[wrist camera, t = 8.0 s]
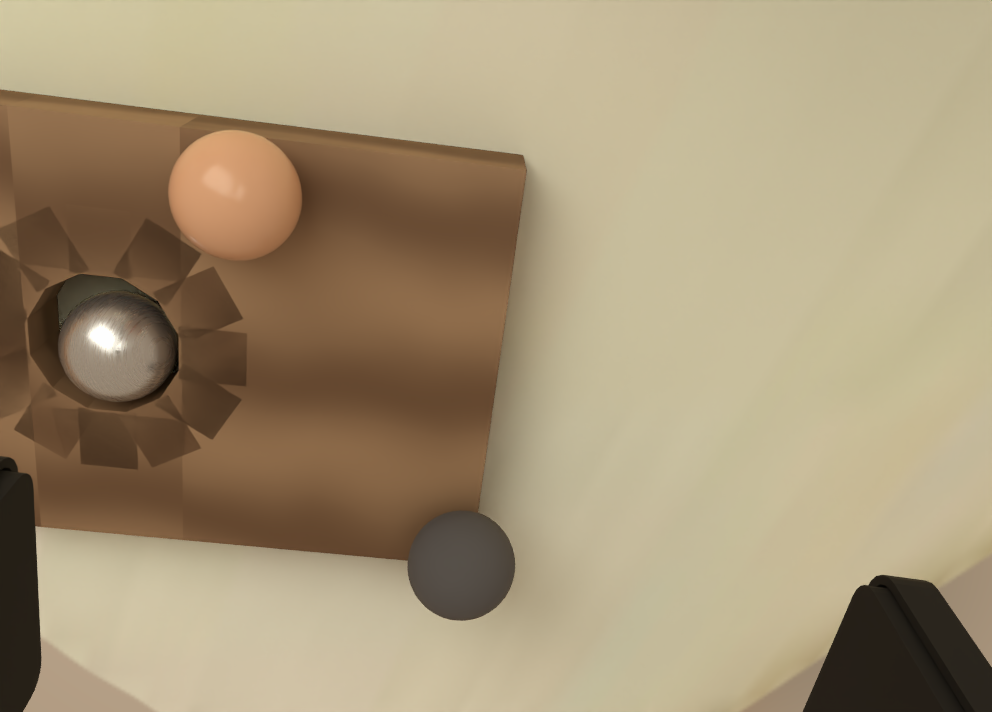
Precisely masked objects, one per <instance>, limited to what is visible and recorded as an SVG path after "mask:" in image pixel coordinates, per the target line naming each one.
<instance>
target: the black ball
mask: <svg viewBox="0 0 992 712" xmlns="http://www.w3.org/2000/svg"><path fill="white" fill-rule="evenodd" d="M514 572H515V558H514V553H513V548H512V546H511V543H510V541H509V539H508V537H507V536H506V534H505V533H504V531H503V530H502V529H501V528H500V527H499V526H498V525H497V524H496V523H495V522H494V521H492V520H491V519H490V518H488V517H486V516H484V515H482V514H479V513H476V512H472V511H452V512H447V513H444V514H442V515H439V516H437V517H436V518H434V519H432V520H431V521H430V522H428V523H427V524H426V525H425V526H424V527H423V528H422V529H421V530H420V531H419V533H418V534H417V535H416V537H415V539H414V541H413V543H412V545H411V548H410V552H409V557H408V576H409V580H410V584H411V586H412V589H413V591H414V593H415V595H416V596H417V598H418V599H419V600H420V601H421V603H422V604H423V605H424V606H425V607H426V608H427V609H429V610H430V611H432V612H433V613H435V614H437V615H439V616H441V617H443V618H446V619H450V620H461V621H462V620H471V619H475V618H479V617H481V616H483V615H485V614H487V613H489V612H490V611H492V610H493V609H494V608H496V607H497V606H498V605H499V604H500V603H501V601H502V600H503V599H504V598H505V596H506V595H507V593H508V591H509V589H510V587H511V584H512V581H513V577H514Z"/></svg>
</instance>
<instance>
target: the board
mask: <svg viewBox="0 0 992 712" xmlns="http://www.w3.org/2000/svg"><path fill="white" fill-rule="evenodd" d="M222 130H241V131H246V132H251V133H254V134H257V135H259V136H262V137H264V138H266V139H267V140H269V141H271V142H272V143H274V144H275V145H276V146H277V147H279V148H280V149H281V150H282V151H283V152H284V153H285V154H286V156H287V157H288V158H289V159H290V161H291V162H292V164H293V166H294V167H295V169H296V172H297V174H298V176H299V180H300V183H301V189H302V209H301V213H300V217H299V220H298V222H297V225H296V227H295V229H294V230H293V232H292V234H291V235H290V236H289V237H288V239H287V240H286V241H285V242H284V243H283V244H282V245H281V246H280V247H278V248H277V249H275V250H274V251H273V252H271V253H269V254H267V255H265V256H262V257H259V258H256V259H252V260H245V261H232V260H225V259H220V258H217V257H214V256H212V255H209V254H207V253H205V252H203V251H202V250H200V249H199V248H197V247H196V246H195V245H193V244H192V243H191V242H190V241H189V240H188V239H187V238H186V237H185V236H184V235H183V233H182V232H181V231H180V229H179V228H178V226H177V224H176V222H175V220H174V218H173V216H172V213H171V209H170V205H169V198H168V185H169V180H170V175H171V173H172V170H173V167H174V165H175V163H176V161H177V159H178V158H179V156H180V155H181V154H182V152H183V151H184V150H185V149H186V148H187V147H188V146H189V145H191V144H192V143H193V142H195V141H196V140H198V139H199V138H201V137H203V136H205V135H208V134H211V133H213V132H218V131H222ZM526 171H527V170H526V166H525V162H524V158H523V155H518V154H510V153H502V152H494V151H486V150H478V149H470V148H462V147H454V146H446V145H438V144H430V143H422V142H414V141H406V140H398V139H390V138H382V137H374V136H366V135H358V134H350V133H342V132H334V131H326V130H318V129H310V128H302V127H294V126H286V125H278V124H270V123H262V122H254V121H246V120H238V119H230V118H222V117H214V116H206V115H199V114H191V113H183V112H175V111H167V110H159V109H151V108H143V107H135V106H127V105H119V104H111V103H103V102H95V101H87V100H79V99H71V98H63V97H55V96H47V95H39V94H31V93H23V92H15V91H7V90H0V456H4V457H10V458H12V459H14V460H15V462H16V464H17V467H18V472H21V473H27V474H29V475H30V476H31V478H32V480H33V488H34V510H35V526H38V527H49V528H60V529H71V530H82V531H92V532H103V533H114V534H125V535H136V536H147V537H158V538H169V539H179V540H190V541H201V542H212V543H223V544H234V545H245V546H256V547H266V548H277V549H288V550H299V551H310V552H321V553H332V554H343V555H353V556H364V557H375V558H386V559H397V560H408V557H409V552H410V548H411V545H412V543H413V541H414V539H415V537H416V535H417V534H418V533H419V531H420V530H421V529H422V528H423V527H424V526H425V525H426V524H427V523H428V522H430V521H431V520H432V519H434V518H436V517H437V516H439V515H442V514H444V513H447V512H452V511H472V512H476V513H478V508H479V501H480V494H481V487H482V480H483V473H484V466H485V459H486V452H487V445H488V438H489V431H490V424H491V417H492V410H493V403H494V396H495V389H496V381H497V374H498V367H499V360H500V353H501V346H502V339H503V332H504V325H505V318H506V311H507V304H508V297H509V290H510V283H511V276H512V269H513V262H514V255H515V248H516V241H517V234H518V227H519V220H520V213H521V206H522V199H523V192H524V185H525V178H526ZM78 274H89V275H98V276H107V277H116V278H122V279H124V280H125V281H127V282H129V283H130V284H132V285H133V286H135V287H136V288H138V289H140V290H141V291H143V292H144V293H146V294H148V295H149V296H151V297H152V298H154V299H155V300H157V301H158V302H159V304H160V305H161V307H162V309H163V310H164V312H165V314H166V315H167V317H168V319H169V320H170V322H171V324H172V325H173V327H174V329H175V330H176V332H177V333H178V335H179V371H177V372H174V373H172V374H170V375H169V377H168V378H167V379H166V380H165V382H164V383H163V384H162V385H161V386H160V387H158V388H157V389H156V390H155V391H153V392H152V393H150V394H148V395H146V396H144V397H142V398H139V399H135V400H131V401H125V402H112V401H105V400H101V399H98V398H95V397H93V396H91V395H89V394H87V393H85V392H83V391H82V390H81V389H79V388H78V387H77V386H76V385H75V384H74V383H73V382H72V381H71V380H70V379H69V377H68V376H67V375H66V373H65V371H64V369H63V367H62V365H61V362H60V358H59V353H58V340H59V334H60V329H59V318H58V303H57V294H58V292H59V290H60V289H61V287H62V285H63V284H64V282H65V281H66V279H69V278H71V277H73V276H76V275H78Z"/></svg>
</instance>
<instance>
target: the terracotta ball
mask: <svg viewBox="0 0 992 712" xmlns="http://www.w3.org/2000/svg"><path fill="white" fill-rule="evenodd" d="M168 198H169V205H170V209H171V213H172V216H173V218H174V220H175V222H176V224H177V226H178V228H179V229H180V231H181V232H182V233H183V235H184V236H185V237H186V238H187V239H188V240H189V241H190V242H191V243H192V244H193V245H195V246H196V247H197V248H199V249H200V250H202V251H203V252H205V253H207V254H209V255H212V256H214V257H217V258H220V259H225V260H232V261H245V260H252V259H256V258H259V257H262V256H265V255H267V254H269V253H271V252H273V251H274V250H275V249H277V248H278V247H280V246H281V245H282V244H283V243H284V242H285V241H286V240H287V239H288V237H289V236H290V235H291V234H292V232H293V230H294V229H295V227H296V225H297V222H298V220H299V217H300V213H301V209H302V189H301V183H300V180H299V176H298V174H297V172H296V169H295V167H294V166H293V164H292V162H291V161H290V159H289V158H288V157H287V156H286V154H285V153H284V152H283V151H282V150H281V149H280V148H279V147H277V146H276V145H275V144H274V143H272V142H271V141H269V140H267V139H266V138H264V137H262V136H259V135H257V134H254V133H251V132H246V131H241V130H222V131H218V132H213V133H211V134H208V135H205V136H203V137H201V138H199V139H198V140H196V141H195V142H193V143H192V144H191V145H189V146H188V147H187V148H186V149H185V150H184V151H183V152H182V154H181V155H180V156H179V158H178V159H177V161H176V163H175V165H174V167H173V170H172V173H171V175H170V180H169V185H168Z"/></svg>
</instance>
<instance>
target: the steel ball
mask: <svg viewBox="0 0 992 712" xmlns="http://www.w3.org/2000/svg"><path fill="white" fill-rule="evenodd" d="M58 353H59V358H60V362H61V365H62V367H63V369H64V371H65V373H66V375H67V376H68V377H69V379H70V380H71V381H72V382H73V383H74V384H75V385H76V386H77V387H78V388H79V389H81V390H82V391H83V392H85V393H87V394H89V395H91V396H93V397H95V398H98V399H101V400H105V401H112V402H125V401H131V400H135V399H139V398H142V397H144V396H146V395H148V394H150V393H152V392H153V391H155V390H156V389H157V388H158V387H160V386H161V385H162V384H163V383H164V382H165V380H166V379H167V378H168V377H169V375H170V374H171V372H172V370H173V368H174V365H175V363H176V359H177V354H178V339H177V334H176V331H175V329H174V327H173V325H172V324H171V322H170V320H169V319H168V317H167V315H166V314H165V312H164V310H163V309H162V308H160V307H159V306H158V305H157V304H156V303H154V302H153V301H151V300H150V299H148V298H146V297H144V296H142V295H139V294H136V293H132V292H126V291H110V292H104V293H100V294H97V295H94V296H92V297H89V298H88V299H86V300H84V301H83V302H81V303H80V304H79V305H77V306H76V307H75V308H74V309H73V310H72V311H71V312H70V314H69V315H68V316H67V318H66V319H65V321H64V323H63V325H62V328H61V331H60V334H59V340H58Z"/></svg>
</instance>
